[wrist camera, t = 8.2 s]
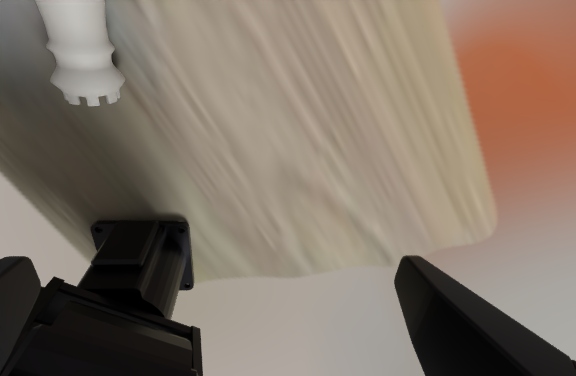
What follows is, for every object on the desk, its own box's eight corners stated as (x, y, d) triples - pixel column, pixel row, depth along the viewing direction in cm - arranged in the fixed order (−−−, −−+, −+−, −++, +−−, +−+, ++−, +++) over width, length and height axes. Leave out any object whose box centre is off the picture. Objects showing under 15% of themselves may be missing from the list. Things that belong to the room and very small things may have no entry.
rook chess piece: (-36, -122, 12) (35, 88, 16) (-37, -140, 9) (47, 119, 13) (97, -93, 14) (126, 82, 19) (126, -100, 12) (152, 106, 16)
